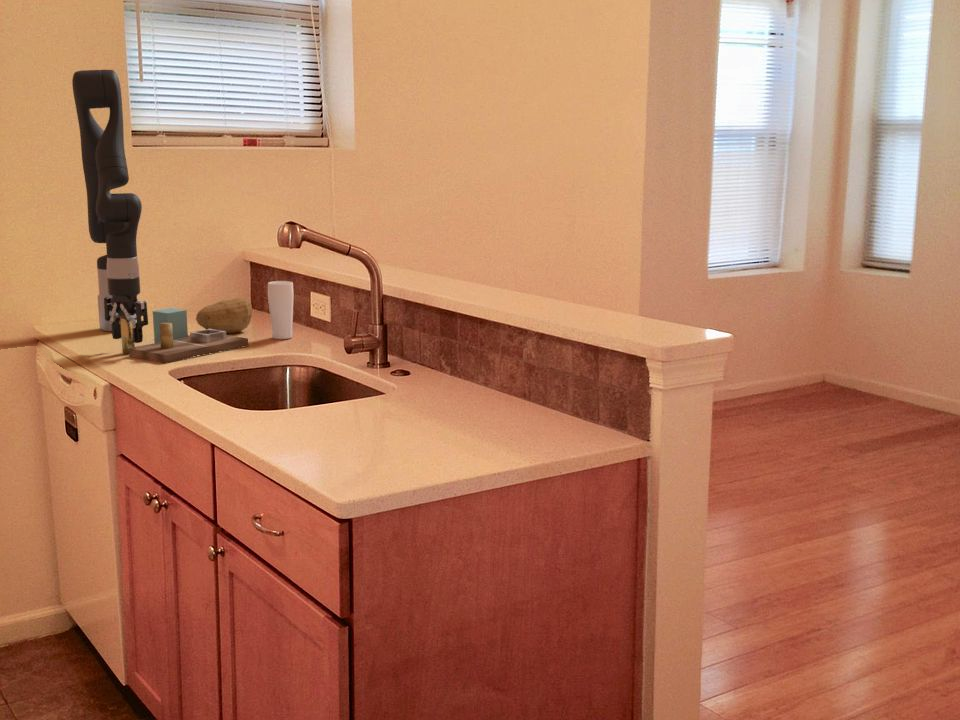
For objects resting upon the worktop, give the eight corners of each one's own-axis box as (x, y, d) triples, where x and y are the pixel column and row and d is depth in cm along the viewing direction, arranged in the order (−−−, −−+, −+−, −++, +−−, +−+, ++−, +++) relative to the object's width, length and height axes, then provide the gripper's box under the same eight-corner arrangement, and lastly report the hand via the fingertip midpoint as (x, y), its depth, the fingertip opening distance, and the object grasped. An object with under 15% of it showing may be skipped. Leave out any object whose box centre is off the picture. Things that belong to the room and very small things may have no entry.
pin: (119, 353, 268) (117, 318, 267) (130, 351, 271) (127, 316, 269) (127, 355, 267) (125, 319, 265) (137, 353, 269) (135, 317, 267)
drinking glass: (298, 336, 292) (296, 281, 289) (291, 340, 285) (289, 284, 282) (273, 335, 293) (271, 280, 289) (266, 340, 286) (264, 284, 283)
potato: (193, 332, 296) (191, 299, 294) (249, 328, 303) (247, 295, 301) (200, 338, 289) (198, 303, 287) (257, 333, 296) (256, 299, 294)
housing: (154, 344, 280) (152, 311, 278) (173, 340, 285) (171, 308, 283) (169, 347, 276) (167, 313, 275) (188, 343, 281) (186, 310, 279)
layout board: (129, 356, 266) (127, 324, 264) (212, 339, 286) (210, 310, 284) (166, 363, 258) (164, 330, 256) (248, 346, 278) (247, 315, 276)
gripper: (92, 274, 266) (97, 339, 269) (128, 279, 258) (132, 346, 261) (118, 271, 272) (122, 335, 275) (154, 276, 264) (158, 341, 267)
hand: (127, 340), depth 268 cm, fingers open, 8 cm apart
